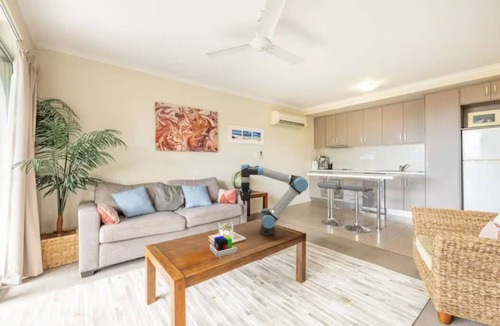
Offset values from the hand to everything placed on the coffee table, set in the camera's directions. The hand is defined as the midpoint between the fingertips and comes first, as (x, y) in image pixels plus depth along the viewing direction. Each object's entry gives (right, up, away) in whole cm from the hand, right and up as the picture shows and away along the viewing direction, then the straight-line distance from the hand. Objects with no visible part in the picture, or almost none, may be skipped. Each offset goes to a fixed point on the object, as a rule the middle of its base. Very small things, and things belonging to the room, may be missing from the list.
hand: (245, 208), depth 191 cm
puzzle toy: (-17, -28, -25) cm, 41 cm away
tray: (-16, -27, -24) cm, 40 cm away
